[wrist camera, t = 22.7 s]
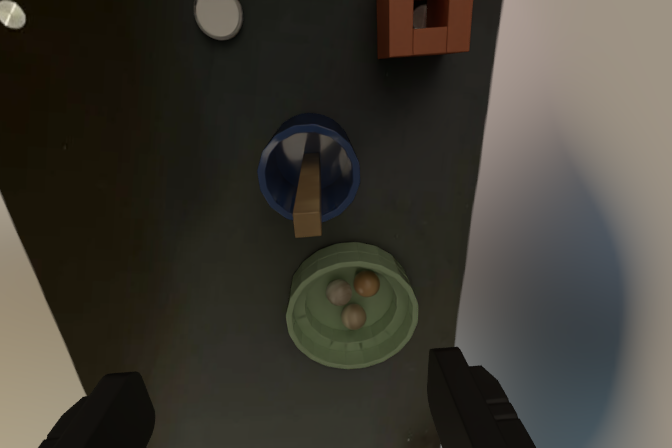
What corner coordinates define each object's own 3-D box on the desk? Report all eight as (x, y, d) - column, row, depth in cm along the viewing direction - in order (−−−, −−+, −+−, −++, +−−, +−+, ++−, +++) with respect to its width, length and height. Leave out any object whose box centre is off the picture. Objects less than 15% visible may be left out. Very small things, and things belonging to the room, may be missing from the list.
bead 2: (389, 284, 40) (375, 285, 38) (373, 301, 41) (359, 303, 39) (373, 264, 41) (359, 264, 39) (358, 282, 42) (343, 283, 40)
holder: (448, -26, 30) (477, -47, 25) (444, 54, 33) (469, 51, 27) (376, -21, 30) (388, -41, 25) (377, 59, 33) (389, 57, 27)
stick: (319, 152, 35) (319, 211, 21) (320, 168, 36) (322, 236, 21) (303, 153, 35) (292, 213, 21) (305, 169, 36) (295, 238, 21)
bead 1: (345, 273, 42) (361, 288, 40) (336, 293, 43) (351, 310, 41) (326, 274, 40) (341, 290, 38) (317, 295, 41) (331, 313, 39)
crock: (349, 109, 34) (357, 121, 27) (353, 190, 38) (361, 219, 30) (265, 116, 34) (250, 128, 27) (276, 196, 38) (266, 227, 30)
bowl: (408, 235, 40) (420, 256, 36) (406, 334, 46) (416, 363, 41) (283, 244, 40) (278, 267, 35) (296, 343, 46) (294, 373, 41)
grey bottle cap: (188, -6, 30) (185, -7, 29) (233, -20, 30) (231, -21, 29) (206, 45, 32) (204, 45, 31) (249, 33, 31) (248, 32, 31)
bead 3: (345, 302, 44) (367, 299, 42) (350, 326, 44) (372, 324, 42) (334, 308, 41) (357, 305, 40) (339, 334, 41) (363, 332, 40)
